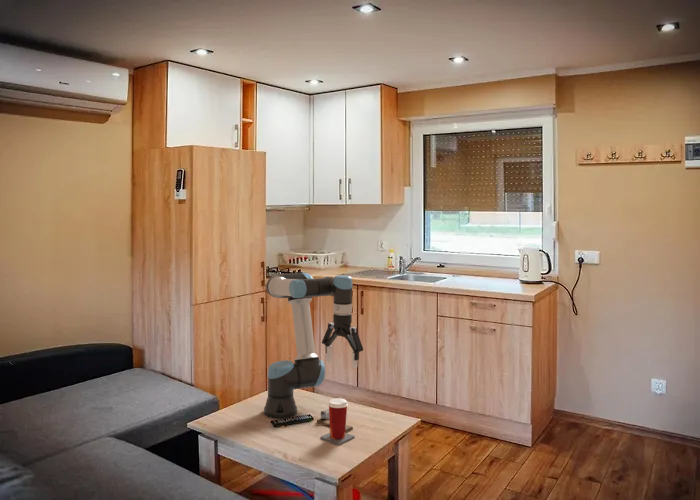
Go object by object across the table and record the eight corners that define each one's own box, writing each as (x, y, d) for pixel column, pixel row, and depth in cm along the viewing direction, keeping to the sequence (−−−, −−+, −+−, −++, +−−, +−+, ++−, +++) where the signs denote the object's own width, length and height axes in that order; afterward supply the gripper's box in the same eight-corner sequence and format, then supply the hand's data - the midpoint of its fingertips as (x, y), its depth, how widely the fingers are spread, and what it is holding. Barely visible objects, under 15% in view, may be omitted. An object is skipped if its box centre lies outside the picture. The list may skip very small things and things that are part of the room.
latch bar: (324, 420, 253) (324, 413, 253) (319, 418, 255) (319, 412, 255) (344, 410, 266) (344, 403, 265) (339, 409, 267) (339, 402, 267)
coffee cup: (351, 436, 238) (352, 401, 237) (337, 442, 232) (338, 406, 231) (337, 430, 244) (337, 396, 243) (323, 436, 238) (323, 400, 237)
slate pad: (320, 438, 238) (320, 436, 238) (336, 431, 245) (336, 429, 245) (338, 445, 231) (339, 443, 231) (354, 437, 239) (354, 435, 239)
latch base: (316, 422, 255) (316, 419, 255) (323, 419, 258) (323, 416, 258) (346, 432, 244) (346, 429, 244) (352, 429, 248) (352, 426, 248)
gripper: (313, 310, 240) (313, 360, 242) (360, 319, 225) (359, 372, 226) (325, 308, 246) (325, 357, 248) (372, 316, 230) (371, 368, 232)
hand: (341, 364), depth 237 cm, fingers open, 13 cm apart
